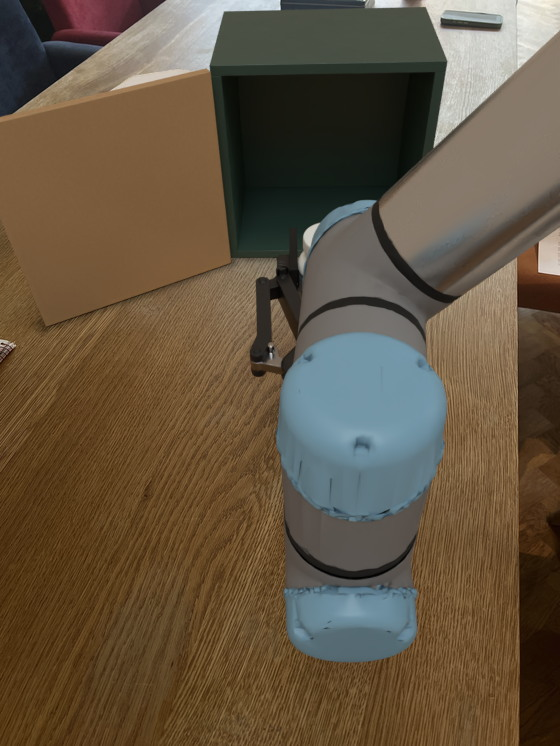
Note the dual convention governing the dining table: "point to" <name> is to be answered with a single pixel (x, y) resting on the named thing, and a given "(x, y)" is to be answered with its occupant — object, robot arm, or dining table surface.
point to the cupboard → (319, 114)
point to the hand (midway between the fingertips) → (326, 239)
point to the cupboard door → (114, 193)
